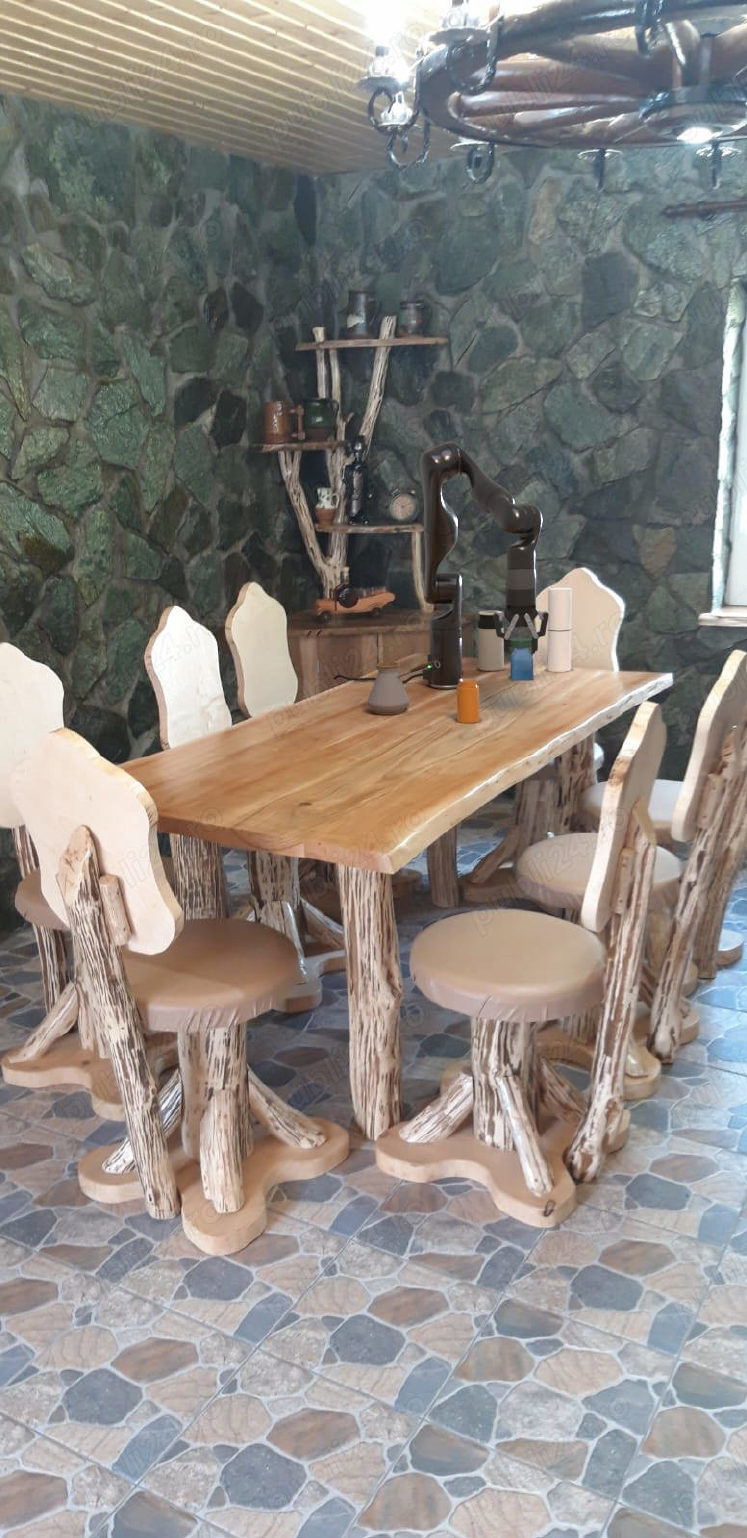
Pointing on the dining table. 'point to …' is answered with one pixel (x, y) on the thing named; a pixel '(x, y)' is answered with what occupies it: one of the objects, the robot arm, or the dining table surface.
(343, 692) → the dining table surface
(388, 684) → the coffee pot
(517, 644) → the honey lid
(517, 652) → the perfume bottle
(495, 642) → the travel mug
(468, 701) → the honey jar
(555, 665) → the cylindrical container
